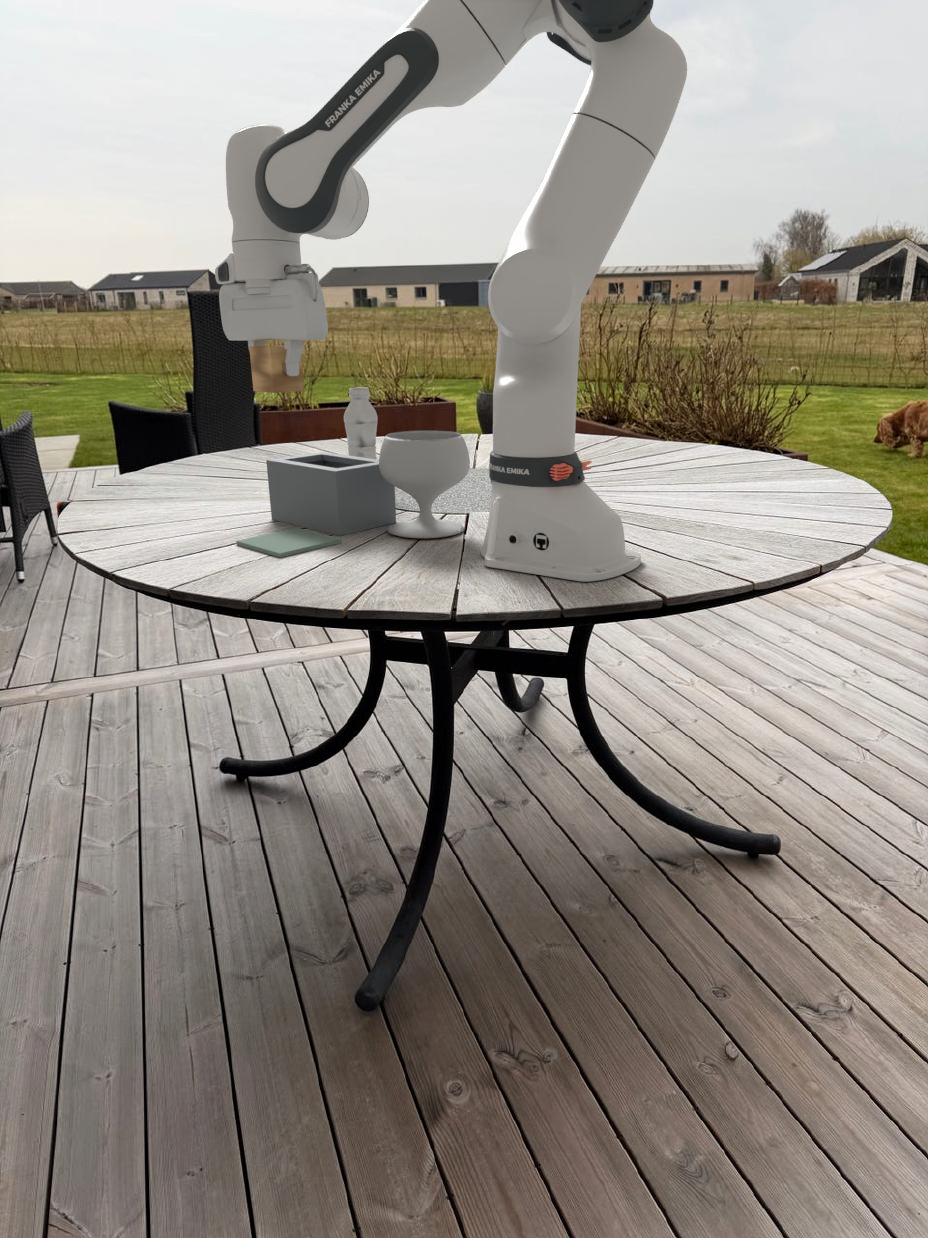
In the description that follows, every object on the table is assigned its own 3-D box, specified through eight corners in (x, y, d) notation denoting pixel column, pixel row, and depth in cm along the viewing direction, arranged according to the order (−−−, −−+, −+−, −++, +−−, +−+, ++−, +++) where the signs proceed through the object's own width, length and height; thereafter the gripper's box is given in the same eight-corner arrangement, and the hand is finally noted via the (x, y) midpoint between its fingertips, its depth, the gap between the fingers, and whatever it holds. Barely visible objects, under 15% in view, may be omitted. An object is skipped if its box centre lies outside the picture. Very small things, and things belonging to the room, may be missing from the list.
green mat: (341, 542, 118) (341, 538, 118) (280, 557, 110) (279, 553, 110) (297, 531, 125) (296, 527, 125) (236, 544, 117) (236, 540, 117)
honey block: (303, 390, 111) (300, 345, 109) (274, 392, 107) (269, 346, 105) (283, 389, 114) (279, 345, 112) (253, 391, 111) (249, 346, 109)
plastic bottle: (340, 495, 152) (333, 388, 146) (360, 489, 158) (355, 386, 151) (368, 498, 150) (362, 389, 143) (387, 492, 155) (383, 387, 148)
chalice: (452, 518, 133) (450, 427, 128) (483, 537, 121) (483, 437, 116) (371, 525, 128) (367, 432, 123) (396, 545, 116) (392, 442, 111)
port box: (396, 522, 130) (393, 461, 127) (339, 535, 122) (335, 471, 118) (327, 508, 142) (323, 451, 138) (271, 519, 133) (266, 459, 130)
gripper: (335, 263, 101) (342, 376, 106) (247, 272, 114) (256, 372, 119) (294, 260, 97) (303, 378, 101) (207, 270, 110) (219, 374, 114)
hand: (277, 375), depth 110 cm, fingers closed on honey block, 5 cm apart
